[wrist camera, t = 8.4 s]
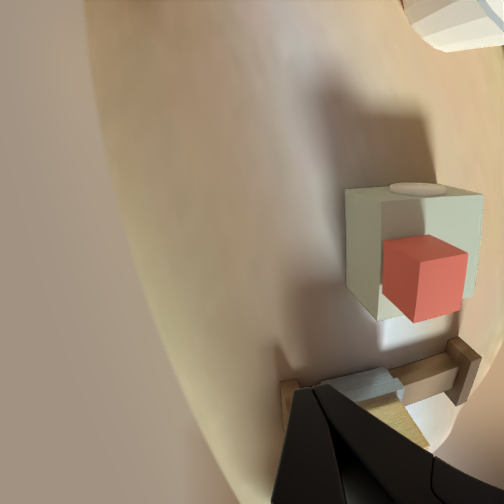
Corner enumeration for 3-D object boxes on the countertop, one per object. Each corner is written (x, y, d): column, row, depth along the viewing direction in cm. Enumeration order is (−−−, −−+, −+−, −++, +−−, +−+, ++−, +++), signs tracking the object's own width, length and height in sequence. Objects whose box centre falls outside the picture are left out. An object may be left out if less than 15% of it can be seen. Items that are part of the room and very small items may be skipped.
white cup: (479, 65, 16) (549, 54, 9) (409, 56, 16) (482, 30, 9) (455, -14, 14) (513, -41, 7) (382, -31, 13) (436, -78, 7)
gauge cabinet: (433, 270, 20) (472, 296, 16) (346, 286, 20) (376, 321, 15) (437, 179, 18) (483, 189, 14) (343, 183, 18) (380, 194, 13)
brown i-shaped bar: (458, 336, 22) (481, 357, 19) (447, 379, 24) (466, 401, 20) (279, 381, 21) (289, 415, 18) (282, 425, 23) (290, 457, 19)
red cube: (425, 284, 15) (460, 310, 12) (381, 293, 14) (413, 323, 12) (429, 234, 14) (468, 252, 11) (384, 240, 14) (420, 262, 11)
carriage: (385, 360, 21) (439, 436, 14) (376, 408, 23) (417, 480, 15) (320, 376, 21) (360, 465, 13) (319, 423, 23) (348, 504, 15)
